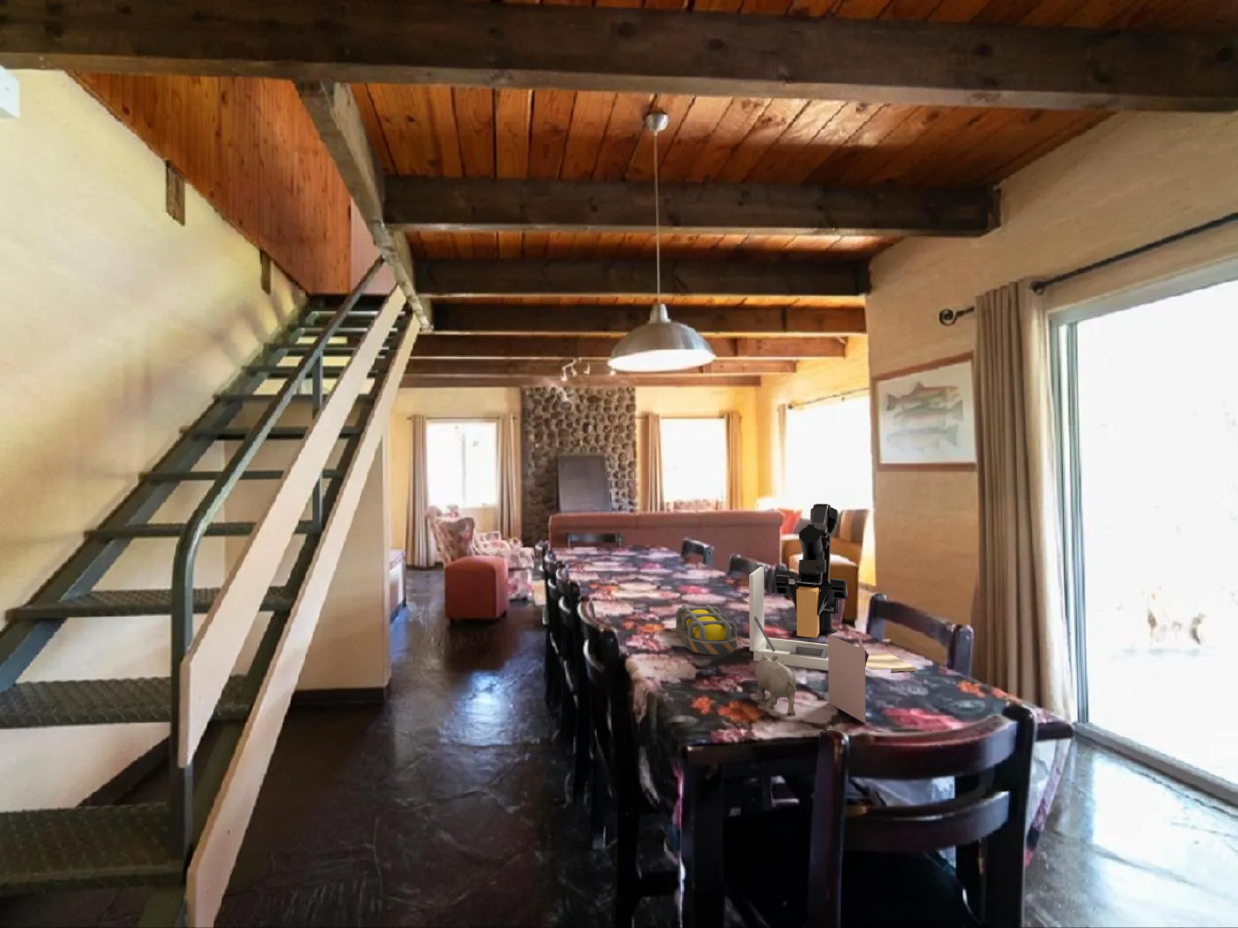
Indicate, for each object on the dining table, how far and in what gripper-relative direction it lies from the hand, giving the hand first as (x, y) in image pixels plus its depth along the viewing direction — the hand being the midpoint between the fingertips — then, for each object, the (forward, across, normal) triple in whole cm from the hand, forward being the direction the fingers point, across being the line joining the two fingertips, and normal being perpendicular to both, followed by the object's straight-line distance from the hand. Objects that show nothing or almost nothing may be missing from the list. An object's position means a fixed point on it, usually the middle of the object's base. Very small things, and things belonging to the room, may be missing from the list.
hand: (807, 613), depth 159 cm
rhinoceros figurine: (+29, -3, -10) cm, 31 cm away
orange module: (+3, 0, +5) cm, 6 cm away
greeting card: (+29, +12, -10) cm, 33 cm away
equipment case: (+8, -4, +10) cm, 14 cm away
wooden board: (+4, +17, +15) cm, 23 cm away
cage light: (+2, -32, +18) cm, 36 cm away
